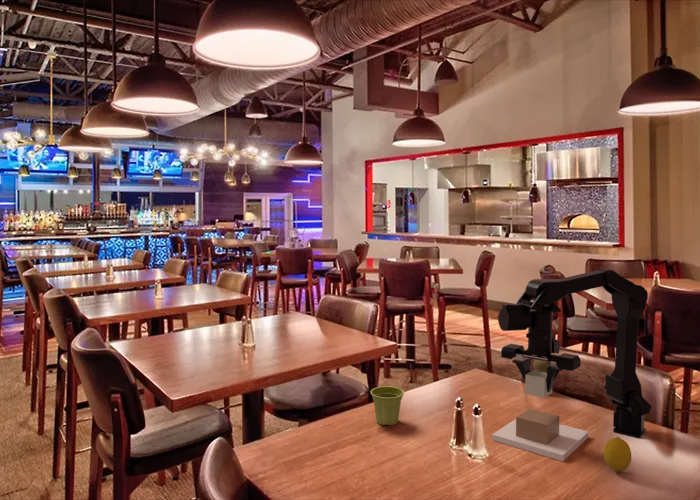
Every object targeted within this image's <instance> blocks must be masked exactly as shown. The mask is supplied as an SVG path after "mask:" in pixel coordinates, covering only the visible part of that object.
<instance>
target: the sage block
mask: <svg viewBox="0 0 700 500" xmlns="http://www.w3.org/2000/svg"><path fill="white" fill-rule="evenodd" d="M524 383H525V384H524V385H525V386H524V394H525V395H530V396H533V397H539V398H542V399H546V398H548V396H551V395H552V394H553V388H552V389H551V391H550V392H547V373H545V372H540V371H535V369H534V370H532V371H531V370H530V372H529V373H527V374H525V381H524ZM550 394H551V395H550Z"/></svg>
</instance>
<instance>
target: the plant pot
mask: <svg viewBox="0 0 700 500" xmlns="http://www.w3.org/2000/svg"><path fill="white" fill-rule="evenodd" d="M404 394H405V391H404V389H402V388H400V387H395V386H389V385H386V386H378V387H374V388H372V389H371V390H370V395H371V396H372V399H373V404H374V412H375V420H376V423H377V424H379V425H381V426H384V425H388V426H394V425H396V424H398V422H399V417H400V411H401V410H400V409H401V405H402V404H401V403H402V399H403V396H404Z"/></svg>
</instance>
